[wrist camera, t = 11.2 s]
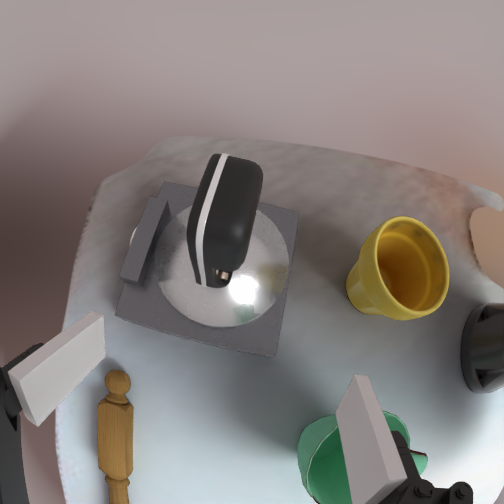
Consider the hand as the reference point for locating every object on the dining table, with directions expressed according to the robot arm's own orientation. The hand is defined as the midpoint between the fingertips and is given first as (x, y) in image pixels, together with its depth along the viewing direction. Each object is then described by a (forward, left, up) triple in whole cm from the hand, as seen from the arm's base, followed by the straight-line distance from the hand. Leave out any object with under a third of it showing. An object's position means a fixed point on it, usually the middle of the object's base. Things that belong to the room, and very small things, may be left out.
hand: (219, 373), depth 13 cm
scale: (+3, -10, -15) cm, 19 cm away
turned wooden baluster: (+8, +18, -16) cm, 25 cm away
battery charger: (+2, -10, -11) cm, 15 cm away
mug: (-15, +7, -16) cm, 23 cm away
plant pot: (-16, -12, -16) cm, 25 cm away
